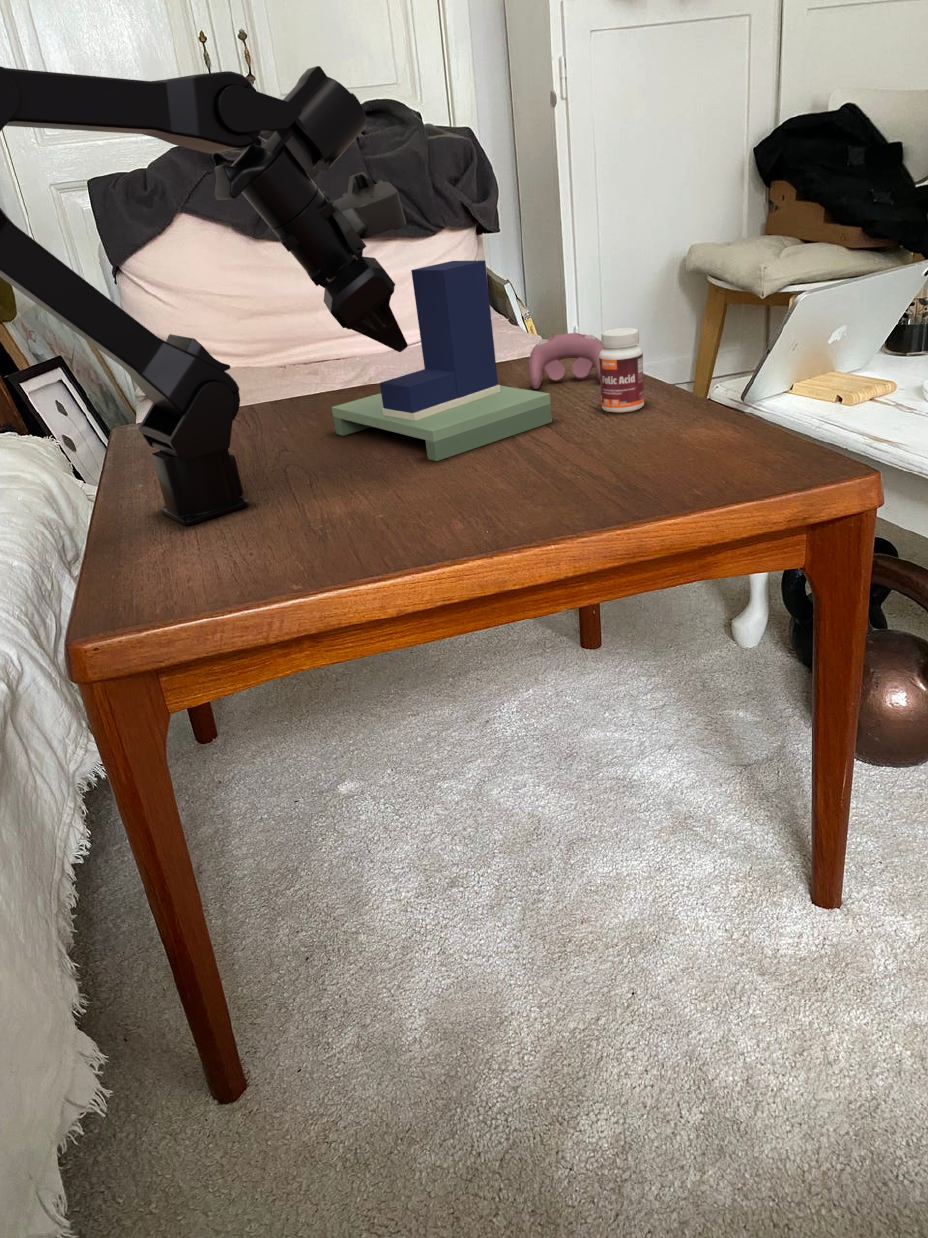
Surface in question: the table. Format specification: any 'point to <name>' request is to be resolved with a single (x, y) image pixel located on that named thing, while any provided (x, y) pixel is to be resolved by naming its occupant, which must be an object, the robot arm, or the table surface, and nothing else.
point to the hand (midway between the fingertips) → (392, 332)
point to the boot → (447, 343)
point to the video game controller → (564, 357)
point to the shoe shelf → (453, 420)
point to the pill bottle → (621, 371)
